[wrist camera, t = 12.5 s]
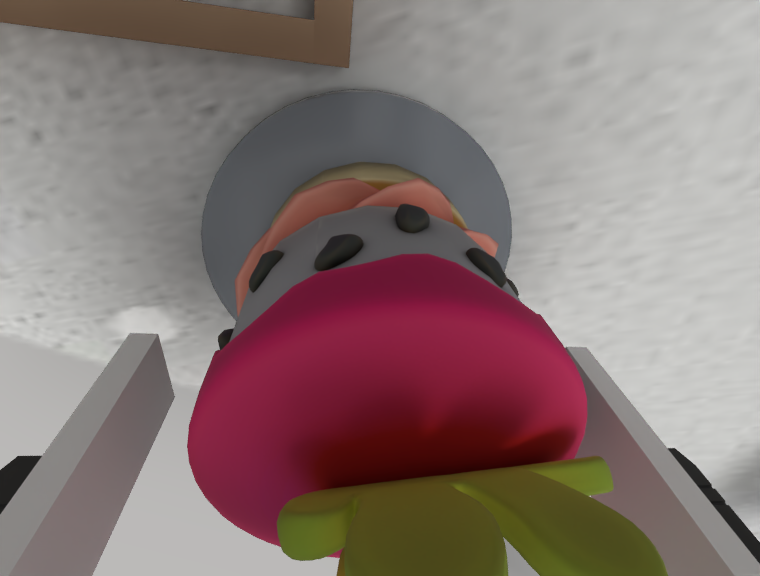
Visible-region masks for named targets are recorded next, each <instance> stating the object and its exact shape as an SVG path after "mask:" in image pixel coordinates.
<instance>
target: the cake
mask: <svg viewBox="0 0 760 576" xmlns="http://www.w3.org/2000/svg"><path fill="white" fill-rule="evenodd" d="M497 248H498V243H497V242H496V241H494V240H493V239H492V238H491V237H490V236H488V235H487V234H483V233H479V232H476V231H472V230H469V229H468V228H467V226H466V224H465V222H464V219H463V218H462V216H461V215H460V214H459V212H458V211H457V209H456V208H455V206H454V205H453V203H452V202H451V201H450V199H449V198H448V197H447V196H445V195H444V194H443V193H442V192H441V190H440V189H439V188H437V187H436V186H435V185H434V184H433V183H432V182H430V181H429V180H428V179H427V178H426V177H423V176H421V175H419V174H416V173H414V172H412V171H410V170H407V169H405V168H403V167H400V166H398V165H396V164H384V163H372V162H356V163H351V164H347V165H343V166H339V167H335V168H331V169H327V170H324V171H322V172H321V173H319V174H318V175H316V176H314V177H313V178H311V179H310V180H308V181H307V182H305V183H304V184H302V185H300V186H299V187H297V188H296V189H295V190H294V191H293V192H292V193H291V195H290V196H289V197H288V199H287V200H286V201H285V202H284V204H283V205H282V206H281V208H280V209H279V210H278V212H277V213H276V214H275V216H274V219H273V222H272V224H271V227H270V228H269V229H268V230H267V231H266V233H265V234H264V235H263V236H262V237H261V238H260V239H259V241H258V242H257V243H256V244H255V245H254V246H253V248H252V249H251V250H250V252H249V254H248V256H247V258H246V260H245V262H244V263H243V265H242V267H241V269H240V271H239V273H238V275H237V277H236V279H235V291H236V304H237V316H238V319H237V322H236V325H235V327H234V329H228V330H224V331H223V332H222V333H221V334H220V335H219V336H218V342H219V347H220V350H217V351H216V352H215V353H214V356H213V358H212V361H211V363H210V366H209V368H208V371H207V373H206V376H205V378H204V381H203V383H202V386H201V388H200V391H199V394H198V398H197V401H196V404H195V407H194V411H193V414H192V417H191V421H190V424H189V434H188V444H187V448H188V455H189V463H190V466H191V469H192V472H193V475H194V478H195V481H196V483H197V484H198V486H199V488H200V489H201V491H202V492H203V494H204V496H205V497H206V498H207V499H208V501H209V502H210V503H211V504H212V505H213V506H214V507H215V508H216V509H217V510H218V511H219V512H220V514H221V515H222V516H223V517H225V518H226V519H227V520H229V521H230V522H231V523H233V524H234V525H236V526H237V527H239V528H240V529H242V530H244V531H246V532H248V533H249V534H251V535H253V536H255V537H257V538H259V539H261V540H264V541H266V542H268V543H271V544H274V545H277V546H280V547H281V548H282V550H283V552H284V553H285V554H286V555H288V556H289V557H290V558H292V559H295V560H300V561H303V560H304V561H305V560H315V559H321V558H324V557H336V558H340V560H339V565H338V571H337V576H508V565H507V554H506V549H505V543H504V539H503V537H504V538H505V539H506V540H507V541H508V542H509V543H510V544H511V545H512V546H513V547H514V548H515V549H516V550H517V551H518V552H519V553H520V555H521V556H522V557H523V558H524V559H525V560H526V561H527V563H528V564H529V565H530V566H531V567H532V568H533V569H534V570H535V571H536V572H537V573H538V574H539V575H540V576H668V573H667V570H666V567H665V564H664V561H663V559H662V558H661V556H660V554H659V552H658V551H657V549H656V547H655V545H654V544H653V543H652V542H651V541H650V539H649V538H648V537H647V536H646V535H645V533H644V532H643V531H641V530H640V529H639V528H638V527H637V526H636V525H635V524H634V523H633V522H631V521H630V520H628V519H627V518H625V517H624V516H623V515H621V514H620V513H618V512H617V511H615V510H613V509H611V508H610V507H608V506H606V505H604V504H602V503H601V502H599V501H597V500H595V499H594V498H591V497H589V496H590V495H597V494H602V493H608V492H611V491H613V488H614V486H613V480H612V475H611V472H610V469H609V466H608V465H607V463H606V462H605V460H604V459H603V458H602V457H600V456H591V457H584V458H577V459H574V458H575V456H576V454H577V452H578V449H579V447H580V444H581V442H582V439H583V437H584V434H585V428H586V422H587V396H586V392H585V388H584V384H583V381H582V378H581V376H580V374H579V372H578V370H577V367H576V365H575V363H574V362H573V360H572V359H571V357H570V355H569V354H568V352H567V351H566V349H565V348H564V346H563V345H562V343H561V342H560V341H559V339H558V338H557V337H556V335H555V334H554V332H553V331H552V330H551V328H550V327H549V326H548V324H547V323H546V322H545V320H544V319H543V318H542V316H541V315H540V314H536V313H535V312H533V311H532V310H530V309H529V308H528V307H526V306H525V305H524V304H522V303H521V301H520V300H519V298H518V295H519V294H518V291H517V289H516V287H515V285H514V284H513V282H512V281H510V280H509V279H507V278H506V275H505V273H504V271H503V269H502V267H501V265H500V264H499V262H498V261H497V260H496V259H495V258H494V257H495V255H496V252H497Z"/></svg>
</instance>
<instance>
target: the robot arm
mask: <svg viewBox="0 0 760 576" xmlns="http://www.w3.org/2000/svg"><path fill="white" fill-rule="evenodd" d="M565 349H566V351H567V352H568V354H569V355H570V357H571V359H572V360H573V362H574V363H575V365H576V367H577V370H578V372H579V374H580V376H581V378H582V381H583V384H584V388H585V392H586V396H587V422H586V428H585V434H584V437H583V439H582V442H581V444H580V447H579V449H578V452H577V454H576V456H575V458H574V459H577V458H584V457H591V456H600V457H602V458H603V459H604V460H605V462H606V463H607V465H608V466H609V469H610V472H611V475H612V480H613V486H614V488H613V491H611V492H608V493H602V494H597V495H591V497H592V498H594V499H595V500H597V501H599V502H601V503H602V504H604V505H606V506H608V507H610V508H611V509H613V510H615V511H617V512H618V513H620V514H621V515H623V516H624V517H625V518H627V519H628V520H630V521H631V522H633V523H634V524H635V525H636V526H637V527H638V528H639V529H640V530H641V531H643V532H644V533H645V535H646V536H647V537H648V538H649V539H650V541H651V542H652V543H653V544H654V545H655V547H656V549H657V551H658V552H659V554H660V556H661V558H662V559H663V561H664V564H665V567H666V570H667V573H668V576H760V542H759V541H758V540H757V539H756V537H755V536H754V535H753V534H752V533H751V531H750V530H749V529H748V528H747V527H746V525H745V524H744V523H743V522H742V521H741V519H740V518H739V517H738V516H737V515H736V513H735V512H734V511H733V510H732V509H731V507H730V506H729V505H726V504H725V500H724V499H723V498H722V497H721V495H720V494H719V493H718V492H717V491H716V489H713V488H712V487H711V483H710V482H709V481H708V480H707V479H706V477H705V476H704V475H703V474H702V473H701V471H700V470H699V469H698V468H697V467H696V465H694V464H693V463H692V462H691V461H690V460H688V459H687V458H686V457H685V456H684V455H682V454H681V453H680V452H679V451H677V450H676V449H675V448H667V447H666V446H665V445H664V444H663V442H662V441H661V440H660V439H659V437H658V436H657V435H656V434H655V432H654V431H653V430H652V429H651V427H650V426H649V425H648V424H647V422H646V421H645V420H644V419H643V417H642V416H641V415H640V414H639V412H638V411H637V410H636V409H635V407H634V406H633V405H632V404H631V402H630V401H629V400H628V399H627V397H626V396H625V395H624V394H623V392H622V391H621V390H620V389H619V387H618V386H617V385H616V384H615V382H614V381H613V380H612V379H611V377H610V376H609V375H608V374H607V372H606V371H605V370H604V369H603V367H602V366H601V365H600V364H599V362H598V361H597V360H596V359H595V357H594V356H593V355H592V354H591V352H590V351H589V350H588V349H587V347H566V348H565ZM174 397H175V396H174V392H173V389H172V385H171V381H170V377H169V373H168V370H167V366H166V362H165V358H164V354H163V351H162V347H161V343H160V339H159V336H158V334H140V333H130V334H129V335H128V337H127V338H126V340H125V341H124V342H123V344H122V345H121V347H120V348H119V349H118V351H117V352H116V354H115V355H114V356H113V358H112V359H111V361H110V362H109V363H108V365H107V366H106V368H105V369H104V371H103V372H102V373H101V375H100V376H99V377H98V379H97V380H96V382H95V383H94V384H93V386H92V387H91V389H90V390H89V391H88V393H87V394H86V396H85V397H84V398H83V400H82V401H81V402H80V404H79V405H78V407H77V408H76V409H75V411H74V412H73V414H72V415H71V417H70V418H69V419H68V421H67V422H66V424H65V425H64V426H63V428H62V429H61V431H60V432H59V433H58V435H57V436H56V437H55V439H54V440H53V442H52V443H51V444H50V446H49V447H48V449H47V450H46V451H45V453H44V454H43V456H17V457H16V458H15V459H14V460H12V461H11V462H10V463H9V464H7V465H6V466H5V467H4V468H2V469H1V470H0V576H92V575H93V572H94V570H95V568H96V566H97V564H98V562H99V559H100V557H101V555H102V553H103V551H104V549H105V546H106V544H107V542H108V540H109V538H110V536H111V534H112V531H113V529H114V527H115V525H116V523H117V521H118V518H119V516H120V514H121V512H122V510H123V507H124V505H125V503H126V501H127V499H128V497H129V495H130V493H131V490H132V488H133V486H134V484H135V482H136V479H137V477H138V475H139V473H140V471H141V468H142V466H143V464H144V462H145V460H146V458H147V456H148V454H149V451H150V449H151V447H152V445H153V443H154V441H155V438H156V436H157V434H158V432H159V430H160V428H161V425H162V423H163V421H164V419H165V417H166V415H167V413H168V410H169V408H170V406H171V404H172V402H173V400H174Z"/></svg>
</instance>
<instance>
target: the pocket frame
mask: <svg viewBox="0 0 760 576" xmlns="http://www.w3.org/2000/svg"><path fill="white" fill-rule="evenodd" d="M352 11H353V0H315V2H314V20H310V19H303V18H297V17H290V16H283V15H276V14H269V13H263V12H256V11H249V10H242V9H236V8H229V7H222V6H215V5H209V4H202V3H195V2H188V1H182V0H0V22H4V23H11V24H19V25H26V26H34V27H42V28H49V29H57V30H64V31H72V32H79V33H87V34H95V35H102V36H110V37H117V38H125V39H132V40H140V41H147V42H155V43H163V44H170V45H178V46H185V47H193V48H200V49H208V50H216V51H223V52H231V53H238V54H246V55H253V56H261V57H269V58H276V59H284V60H291V61H299V62H306V63H314V64H321V65H329V66H337V67H344V68H349V58H350V42H351V26H352Z"/></svg>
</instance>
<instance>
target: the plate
mask: <svg viewBox="0 0 760 576" xmlns="http://www.w3.org/2000/svg"><path fill="white" fill-rule="evenodd" d="M356 162H372V163H384V164H396V165H398V166H400V167H403V168H405V169H407V170H410V171H412V172H414V173H416V174H419V175H421V176H423V177H426V178H427V179H428V180H429V181H430V182H432V183H433V184H434V185H435V186H436V187H437V188H439V189H440V190H441V192H442V193H443V194H444V195H445V196H447V197H448V198H449V199H450V201H451V202H452V203H453V205H454V206H455V208H456V209H457V211H458V212H459V214H460V215H461V216H462V218H463V219H464V222H465V224H466V226H467V228H468V229H469V230H472V231H476V232H479V233H483V234H487V235H488V236H490V237H491V238H492V239H493V240H494V241H496V242H497V243H498V248H497V252H496V255H495V257H494V258H495V259H496V260H497V261H498V262H499V264H500V265H501V267H502V269H503V271H504V272H505V268H506V265H507V261H508V257H509V253H510V245H511V238H512V229H511V214H510V207H509V201H508V198H507V195H506V192H505V188H504V185H503V182H502V180H501V178H500V176H499V174H498V172H497V170H496V168H495V166H494V164H493V163H492V162H491V160H490V159H489V157H488V156H487V155H486V153H485V152H484V150H483V149H482V148H481V147H480V145H479V144H478V143H477V142H476V141H475V140H474V139H473V138H472V137H471V136H470V135H469V134H468V133H467V132H466V131H464V130H463V129H462V128H460V127H459V126H458V125H456V124H455V123H454V122H452V121H451V120H450V119H448V118H447V117H446V116H444V115H443V114H442V113H440V112H438V111H436V110H434V109H432V108H430V107H429V106H427V105H425V104H423V103H421V102H418V101H415V100H412V99H410V98H407V97H404V96H401V95H397V94H392V93H387V92H382V91H375V90H355V89H353V90H343V91H333V92H327V93H323V94H319V95H315V96H311V97H307V98H305V99H302V100H300V101H298V102H295V103H293V104H290V105H288V106H286V107H284V108H282V109H281V110H279V111H277V112H276V113H274V114H272V115H271V116H269V117H267V118H266V119H265V120H263V121H262V122H261V123H260V124H259V125H257V126H256V127H255V128H254V129H253V130H251V131H250V132H249V133H248V134H247V135H246V136H245V137H244V138H243V139H242V140H241V141H240V143H239V144H238V145H237V146H236V147H235V148H234V149H233V151H232V152H231V153H230V154H229V155H228V156H227V158H226V160H225V161H224V163H223V164H222V166H221V168H220V169H219V171H218V172H217V174H216V176H215V178H214V181H213V183H212V185H211V188H210V190H209V193H208V195H207V199H206V204H205V208H204V212H203V220H202V232H201V235H202V248H203V256H204V260H205V264H206V268H207V272H208V274H209V277H210V280H211V282H212V285H213V287H214V289H215V291H216V293H217V294H218V296H219V298H220V300H221V302H222V303H223V305H224V306H225V307H226V309H227V310H228V311H229V313H230V314H231V315H232V317H233V318H234V319H235V320H236V321H237V319H238V316H237V304H236V291H235V279H236V277H237V275H238V273H239V271H240V269H241V267H242V265H243V263H244V262H245V260H246V258H247V256H248V254H249V252H250V250H251V249H252V248H253V246H254V245H255V244H256V243H257V242H258V241H259V239H260V238H261V237H262V236H263V235H264V234H265V233H266V231H267V230H268V229H269V228H270V227H271V224H272V222H273V219H274V216H275V214H276V213H277V212H278V210H279V209H280V208H281V206H282V205H283V204H284V202H285V201H286V200H287V199H288V197H289V196H290V195H291V193H292V192H293V191H294V190H295V189H296V188H297V187H299V186H300V185H302V184H304V183H305V182H307V181H308V180H310V179H311V178H313V177H314V176H316V175H318V174H319V173H321V172H322V171H324V170H327V169H331V168H335V167H339V166H343V165H347V164H351V163H356Z"/></svg>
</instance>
